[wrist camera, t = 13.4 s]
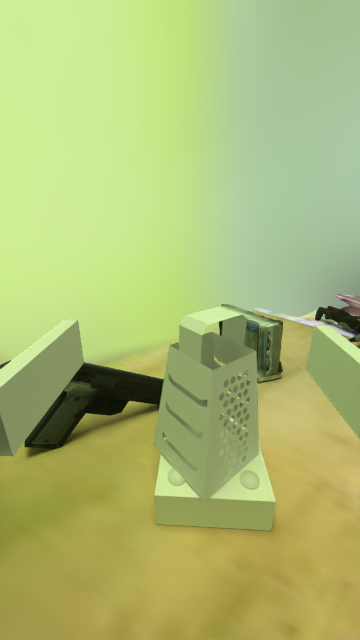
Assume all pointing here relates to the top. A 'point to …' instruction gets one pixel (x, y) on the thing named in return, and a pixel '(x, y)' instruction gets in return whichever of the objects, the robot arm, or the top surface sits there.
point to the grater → (209, 399)
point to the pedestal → (216, 494)
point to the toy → (341, 319)
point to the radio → (262, 342)
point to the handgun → (92, 401)
